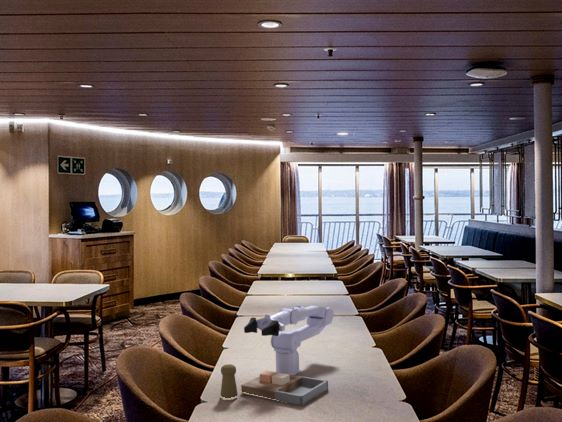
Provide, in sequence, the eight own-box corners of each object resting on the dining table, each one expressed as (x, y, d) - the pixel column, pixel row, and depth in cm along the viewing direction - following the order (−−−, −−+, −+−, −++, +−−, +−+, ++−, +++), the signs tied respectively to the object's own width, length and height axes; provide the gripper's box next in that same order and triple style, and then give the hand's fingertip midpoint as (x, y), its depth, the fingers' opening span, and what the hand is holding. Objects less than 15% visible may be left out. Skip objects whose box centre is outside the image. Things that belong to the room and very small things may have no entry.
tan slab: (270, 379, 207) (270, 371, 207) (302, 385, 200) (302, 376, 200) (241, 393, 192) (241, 385, 192) (275, 400, 185) (274, 391, 185)
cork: (238, 394, 192) (237, 362, 192) (237, 400, 186) (236, 367, 186) (220, 394, 192) (220, 362, 192) (219, 400, 186) (218, 368, 186)
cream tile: (279, 379, 197) (278, 372, 197) (289, 381, 195) (289, 374, 195) (271, 383, 193) (271, 376, 193) (282, 385, 191) (282, 378, 191)
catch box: (302, 385, 200) (302, 376, 200) (328, 389, 194) (327, 380, 194) (275, 400, 185) (274, 391, 185) (301, 406, 179) (301, 396, 179)
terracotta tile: (266, 377, 200) (266, 370, 200) (277, 379, 198) (277, 372, 198) (259, 380, 196) (259, 373, 196) (270, 382, 194) (270, 375, 194)
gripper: (259, 309, 212) (236, 318, 200) (291, 313, 204) (269, 322, 192) (259, 327, 212) (237, 337, 201) (291, 332, 204) (270, 342, 193)
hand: (253, 331), depth 197 cm, fingers open, 7 cm apart
